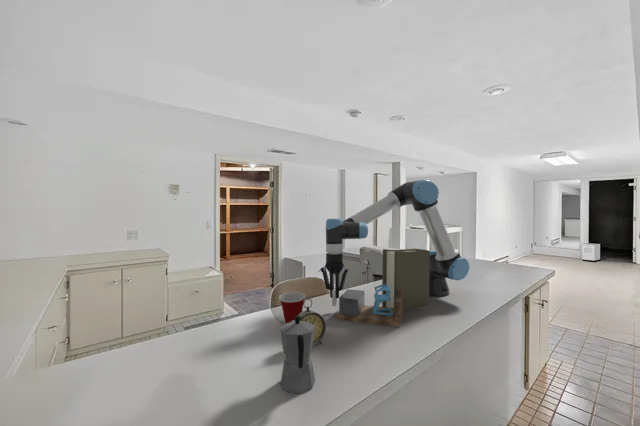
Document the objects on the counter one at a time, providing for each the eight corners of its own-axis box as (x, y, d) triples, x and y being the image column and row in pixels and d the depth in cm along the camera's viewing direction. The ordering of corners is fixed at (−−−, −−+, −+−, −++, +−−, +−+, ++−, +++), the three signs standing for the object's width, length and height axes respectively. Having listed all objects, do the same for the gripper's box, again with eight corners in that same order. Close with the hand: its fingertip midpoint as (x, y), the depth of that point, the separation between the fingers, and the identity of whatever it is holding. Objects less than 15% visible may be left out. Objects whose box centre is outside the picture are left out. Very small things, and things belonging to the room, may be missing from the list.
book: (415, 302, 150) (416, 247, 150) (430, 308, 142) (430, 249, 142) (381, 308, 140) (382, 249, 140) (395, 314, 132) (396, 251, 132)
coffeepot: (279, 372, 85) (278, 309, 85) (311, 368, 87) (311, 307, 86) (282, 407, 70) (281, 330, 70) (321, 402, 71) (320, 327, 71)
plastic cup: (273, 328, 116) (273, 297, 116) (287, 318, 126) (286, 290, 126) (298, 332, 112) (298, 300, 112) (310, 322, 122) (310, 293, 122)
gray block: (364, 306, 136) (364, 290, 136) (357, 316, 123) (357, 299, 123) (347, 304, 139) (347, 289, 139) (339, 314, 126) (339, 297, 126)
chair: (371, 309, 131) (371, 282, 131) (390, 310, 130) (390, 283, 130) (373, 316, 123) (372, 287, 123) (393, 316, 122) (393, 287, 122)
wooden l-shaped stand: (403, 313, 132) (402, 291, 131) (400, 327, 116) (399, 301, 116) (346, 307, 140) (345, 286, 140) (336, 319, 125) (336, 295, 125)
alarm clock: (296, 353, 96) (296, 303, 96) (290, 346, 101) (290, 298, 101) (326, 345, 101) (326, 298, 101) (319, 339, 106) (318, 294, 106)
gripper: (350, 252, 135) (350, 304, 135) (323, 251, 139) (323, 301, 140) (346, 254, 128) (346, 309, 128) (317, 253, 132) (318, 306, 132)
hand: (334, 305), depth 134 cm, fingers closed
